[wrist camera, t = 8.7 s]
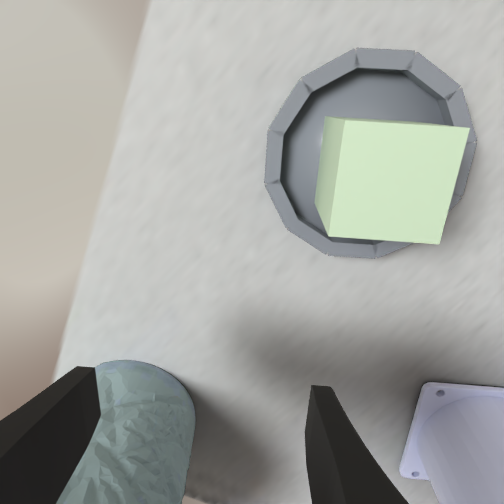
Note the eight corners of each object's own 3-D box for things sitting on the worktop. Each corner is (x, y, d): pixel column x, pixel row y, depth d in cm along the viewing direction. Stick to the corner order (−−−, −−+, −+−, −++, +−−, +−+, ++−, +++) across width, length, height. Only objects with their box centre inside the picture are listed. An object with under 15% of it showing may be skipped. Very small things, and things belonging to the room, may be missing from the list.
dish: (476, 60, 16) (500, 54, 15) (429, 249, 20) (444, 263, 18) (273, 50, 17) (273, 43, 15) (261, 237, 20) (259, 250, 18)
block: (414, 121, 16) (469, 128, 12) (396, 208, 18) (439, 244, 13) (325, 116, 17) (345, 120, 12) (314, 202, 18) (328, 236, 13)
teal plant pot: (43, 424, 26) (-129, 662, 15) (93, 319, 23) (-82, 528, 11) (172, 480, 27) (102, 736, 16) (237, 391, 24) (206, 638, 13)
